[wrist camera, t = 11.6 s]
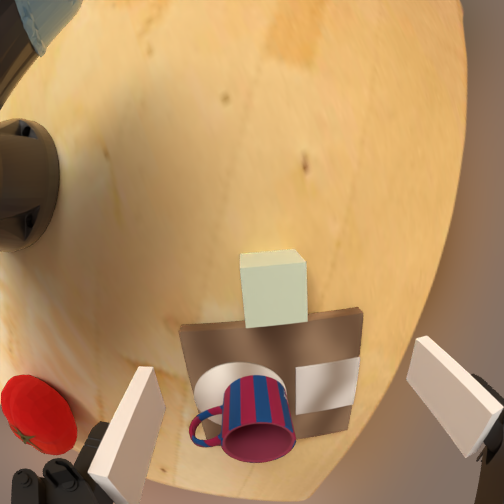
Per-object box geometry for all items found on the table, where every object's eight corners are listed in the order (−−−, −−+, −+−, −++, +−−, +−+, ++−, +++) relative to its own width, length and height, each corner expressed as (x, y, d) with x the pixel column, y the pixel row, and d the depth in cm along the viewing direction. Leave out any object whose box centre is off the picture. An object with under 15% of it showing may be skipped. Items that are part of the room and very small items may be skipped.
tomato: (31, 350, 28) (-10, 389, 18) (97, 413, 30) (70, 463, 20) (15, 382, 29) (-16, 417, 19) (72, 435, 31) (49, 476, 21)
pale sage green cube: (244, 304, 27) (245, 328, 22) (239, 253, 26) (239, 268, 21) (296, 299, 27) (307, 321, 22) (294, 248, 26) (306, 261, 21)
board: (209, 437, 31) (208, 447, 29) (181, 324, 27) (178, 333, 25) (344, 422, 31) (348, 431, 29) (357, 306, 27) (364, 314, 26)
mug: (285, 415, 28) (294, 459, 22) (198, 419, 28) (191, 463, 21) (286, 371, 27) (297, 417, 20) (188, 376, 26) (177, 421, 20)
